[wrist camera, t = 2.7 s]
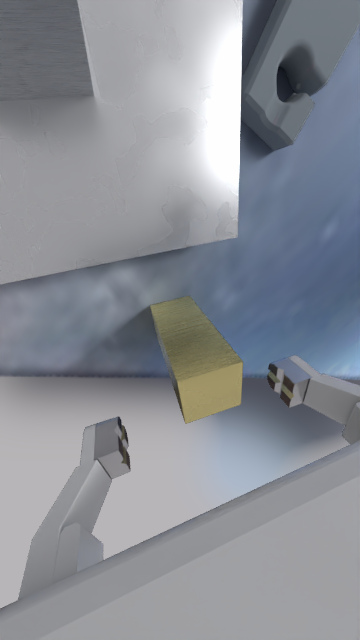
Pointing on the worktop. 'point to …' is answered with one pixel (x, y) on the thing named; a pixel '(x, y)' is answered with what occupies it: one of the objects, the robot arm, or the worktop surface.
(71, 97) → the square plinth with cube
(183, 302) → the yellow rectangular block
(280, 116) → the bracket
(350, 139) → the worktop surface
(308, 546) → the robot arm
